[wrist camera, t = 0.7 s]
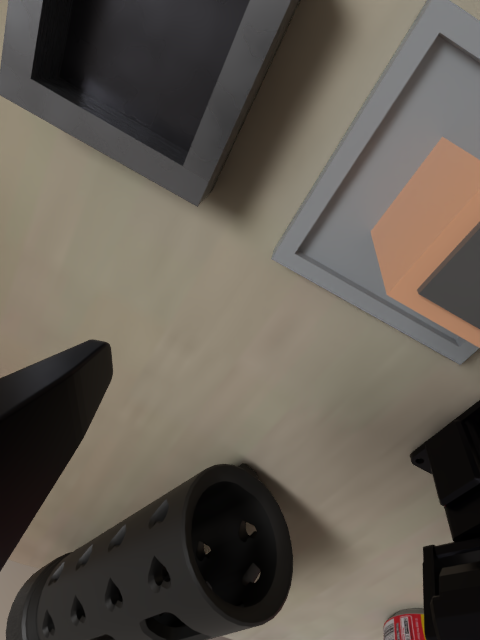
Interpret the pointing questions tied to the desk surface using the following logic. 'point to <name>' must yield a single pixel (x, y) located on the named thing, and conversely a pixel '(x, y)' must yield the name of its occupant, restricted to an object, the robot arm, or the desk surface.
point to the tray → (391, 168)
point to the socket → (145, 77)
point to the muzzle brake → (168, 569)
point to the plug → (436, 241)
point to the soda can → (405, 625)
